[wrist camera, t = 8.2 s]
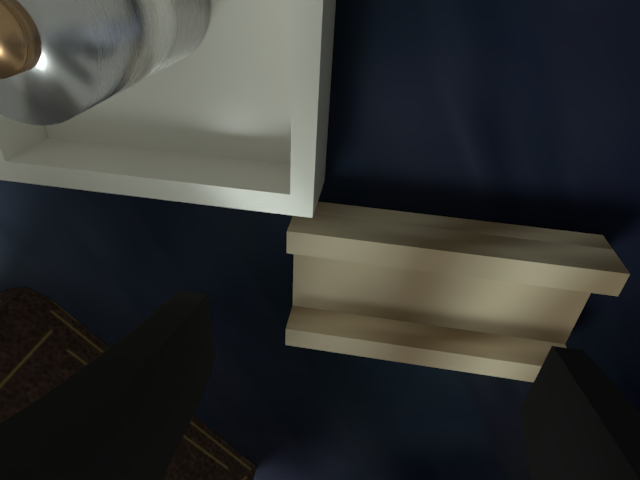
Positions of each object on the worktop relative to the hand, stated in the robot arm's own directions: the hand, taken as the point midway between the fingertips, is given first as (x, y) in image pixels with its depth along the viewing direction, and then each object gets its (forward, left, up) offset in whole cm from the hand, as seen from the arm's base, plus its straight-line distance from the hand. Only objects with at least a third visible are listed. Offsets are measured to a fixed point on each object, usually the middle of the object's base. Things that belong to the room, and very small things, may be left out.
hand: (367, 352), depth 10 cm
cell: (+8, -5, -9) cm, 13 cm away
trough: (-3, +5, -9) cm, 11 cm away
